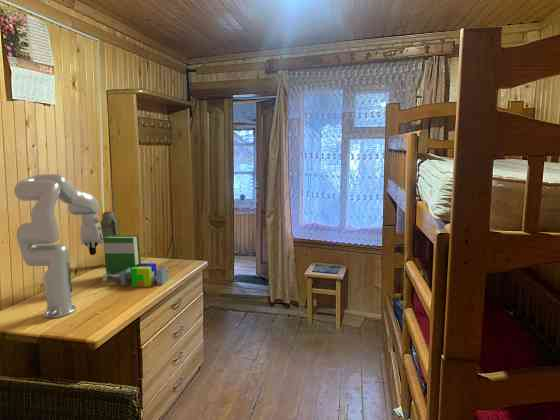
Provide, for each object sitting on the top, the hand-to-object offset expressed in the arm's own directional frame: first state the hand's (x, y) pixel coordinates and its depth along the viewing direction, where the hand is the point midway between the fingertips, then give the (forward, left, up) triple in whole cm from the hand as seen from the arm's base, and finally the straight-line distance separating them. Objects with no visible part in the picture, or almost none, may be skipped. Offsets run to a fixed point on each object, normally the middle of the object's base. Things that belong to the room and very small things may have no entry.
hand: (93, 254), depth 209 cm
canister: (-14, +11, -17) cm, 25 cm away
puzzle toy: (-1, -27, -17) cm, 32 cm away
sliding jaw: (0, -12, -17) cm, 21 cm away
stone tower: (+39, +6, -17) cm, 43 cm away
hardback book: (+13, -11, -17) cm, 24 cm away
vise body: (+1, -23, -17) cm, 29 cm away
